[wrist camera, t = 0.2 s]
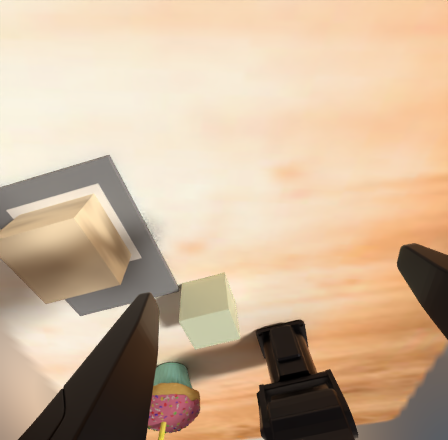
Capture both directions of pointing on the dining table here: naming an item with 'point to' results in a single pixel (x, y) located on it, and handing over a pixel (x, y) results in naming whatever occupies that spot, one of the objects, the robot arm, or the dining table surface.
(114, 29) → the dining table surface
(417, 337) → the dining table surface
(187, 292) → the green cube
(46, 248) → the maple block
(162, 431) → the cupcake
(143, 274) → the grey flat plate
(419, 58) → the dining table surface
